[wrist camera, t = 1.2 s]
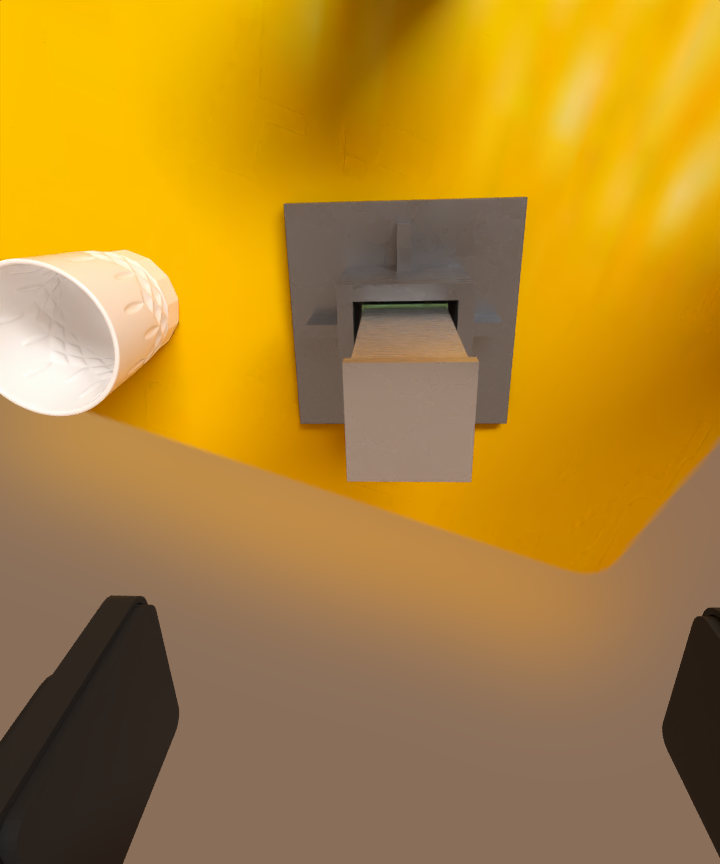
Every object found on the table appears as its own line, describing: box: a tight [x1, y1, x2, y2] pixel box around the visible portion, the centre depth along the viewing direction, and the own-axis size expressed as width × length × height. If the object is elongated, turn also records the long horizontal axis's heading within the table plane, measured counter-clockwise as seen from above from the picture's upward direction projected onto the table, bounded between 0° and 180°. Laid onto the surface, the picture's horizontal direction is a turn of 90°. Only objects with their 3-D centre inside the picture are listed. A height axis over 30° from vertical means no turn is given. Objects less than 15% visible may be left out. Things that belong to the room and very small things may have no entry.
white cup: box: [0, 250, 179, 416], centre depth 31 cm, size 8×8×10 cm
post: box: [342, 300, 479, 482], centre depth 26 cm, size 5×5×16 cm
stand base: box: [284, 197, 527, 424], centre depth 31 cm, size 14×14×8 cm
